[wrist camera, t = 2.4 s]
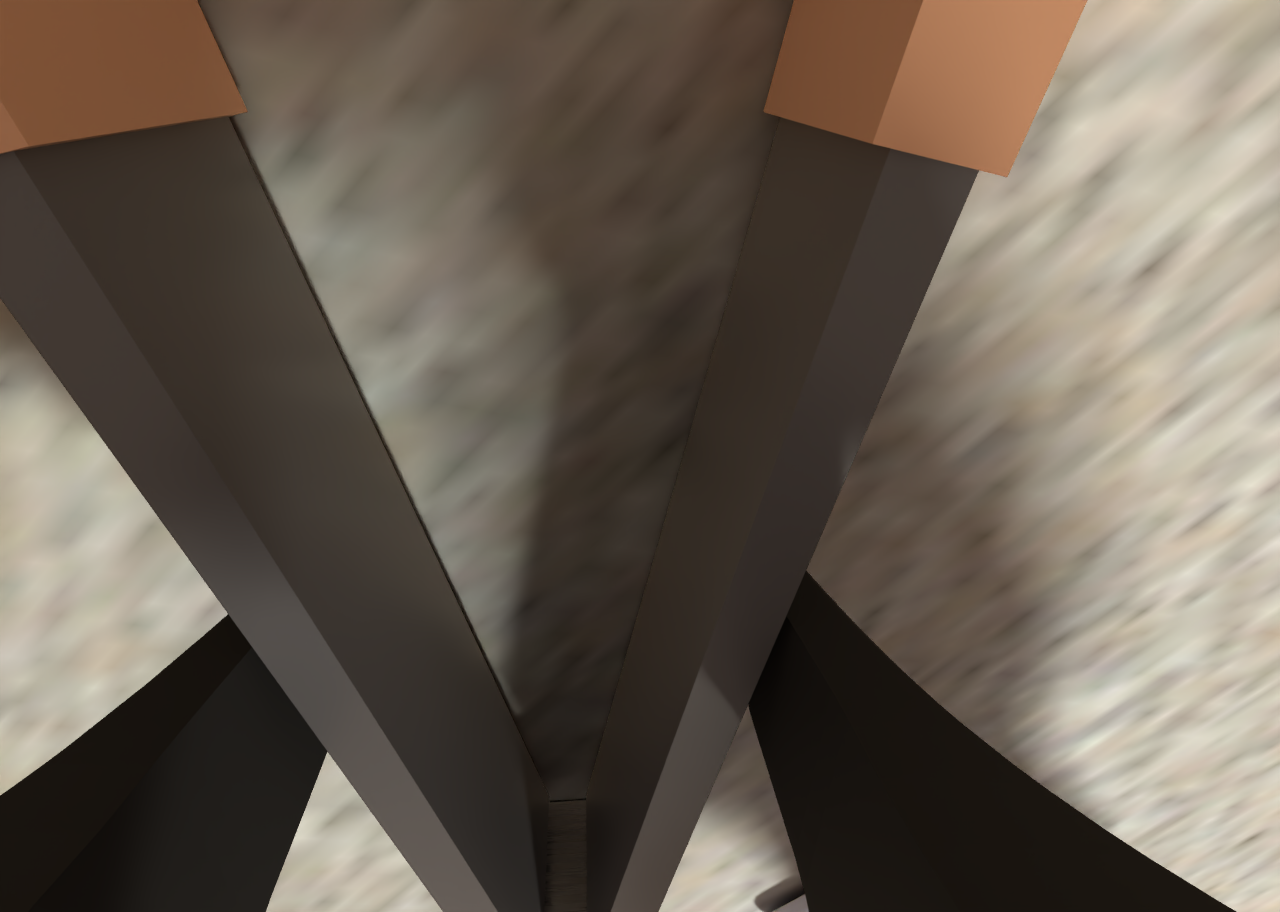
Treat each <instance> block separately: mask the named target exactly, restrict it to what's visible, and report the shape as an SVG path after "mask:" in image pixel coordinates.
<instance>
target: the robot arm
mask: <svg viewBox="0 0 1280 912" xmlns="http://www.w3.org/2000/svg"><path fill="white" fill-rule="evenodd" d="M748 704H749V709H750V713H751V717H752V720H753V724H754V727H755V730H756V733H757V737H758V740H759V743H760V746H761V750H762V753H763V756H764V759H765V763H766V766H767V769H768V772H769V775H770V779H771V782H772V785H773V788H774V791H775V795H776V798H777V801H778V804H779V807H780V811H781V814H782V817H783V820H784V823H785V827H786V830H787V833H788V836H789V839H790V843H791V846H792V849H793V852H794V855H795V859H796V862H797V866H798V870H799V873H800V877H801V881H802V885H803V888H804V892H805V894H804V895H802V896H800V897H798V898H796V899H795V900H793V901H791V902H789V903H787V904H785V905H784V906H782V907H780V908H778V909H776V910H774V911H773V912H1236V911H1234V910H1233V909H1231V908H1229V907H1227V906H1226V905H1224V904H1222V903H1221V902H1219V901H1217V900H1216V899H1214V898H1212V897H1211V896H1209V895H1208V894H1206V893H1204V892H1203V891H1201V890H1200V889H1198V888H1196V887H1195V886H1193V885H1191V884H1190V883H1188V882H1187V881H1185V880H1183V879H1182V878H1180V877H1179V876H1177V875H1175V874H1174V873H1172V872H1170V871H1169V870H1167V869H1166V868H1164V867H1162V866H1161V865H1159V864H1158V863H1156V862H1154V861H1153V860H1151V859H1149V858H1148V857H1146V856H1145V855H1143V854H1142V853H1140V852H1139V851H1137V850H1136V849H1134V848H1133V847H1131V846H1129V845H1128V844H1126V843H1125V842H1123V841H1122V840H1120V839H1119V838H1117V837H1116V836H1114V835H1113V834H1111V833H1110V832H1108V831H1106V830H1105V829H1103V828H1102V827H1101V826H1099V825H1098V824H1096V823H1095V822H1093V821H1092V820H1090V819H1089V818H1088V817H1086V816H1085V815H1083V814H1082V813H1080V812H1079V811H1078V810H1076V809H1075V808H1073V807H1072V806H1070V805H1069V804H1068V803H1066V802H1065V801H1063V800H1062V799H1060V798H1059V797H1058V796H1056V795H1055V794H1053V793H1052V792H1050V791H1049V790H1047V789H1046V788H1045V787H1043V786H1042V785H1040V784H1039V783H1038V782H1036V781H1035V780H1034V779H1032V778H1031V777H1030V776H1028V775H1027V774H1026V773H1024V772H1023V771H1022V770H1020V769H1019V768H1017V767H1016V766H1015V765H1013V764H1012V763H1011V762H1010V761H1008V760H1007V759H1006V758H1005V757H1003V756H1002V755H1001V754H999V753H998V752H997V751H996V750H994V749H993V748H992V747H991V746H989V745H988V744H987V743H986V742H984V741H983V740H982V739H981V738H979V737H978V736H977V735H976V734H974V733H973V732H972V731H970V730H969V729H968V728H967V727H965V726H964V725H963V724H962V723H961V722H959V721H958V720H957V719H956V718H955V717H953V716H952V715H951V714H950V713H949V712H948V711H946V710H945V709H944V708H943V707H942V706H941V705H939V704H938V703H937V702H936V701H935V700H934V699H933V698H932V697H931V696H930V695H928V694H927V693H926V692H925V691H924V690H923V689H922V688H921V687H920V686H919V685H917V684H916V683H915V682H914V681H913V680H912V679H911V678H910V677H909V676H908V675H907V674H906V673H904V672H903V671H902V670H901V669H900V668H899V667H898V666H897V665H896V664H895V663H894V662H893V661H892V660H891V659H890V658H889V657H888V656H887V655H886V654H885V653H884V652H883V651H882V650H881V649H880V648H879V647H878V646H877V645H876V644H875V643H874V642H873V641H872V640H871V639H870V638H869V637H868V636H867V635H866V634H865V633H864V632H863V631H862V630H861V629H860V628H859V627H858V626H857V625H856V624H855V623H854V622H853V621H852V620H851V619H850V618H849V617H848V616H847V615H846V613H845V612H844V611H843V610H842V609H841V608H840V607H839V606H838V605H837V604H836V603H835V602H834V601H833V600H832V598H831V597H830V596H829V595H828V594H827V593H826V592H825V591H824V590H823V589H822V588H821V586H820V585H819V584H818V583H817V582H816V581H815V580H814V579H813V578H812V577H811V575H810V574H809V573H808V572H807V571H806V572H805V574H804V576H803V578H802V581H801V583H800V585H799V588H798V590H797V592H796V595H795V597H794V599H793V602H792V604H791V606H790V609H789V611H788V613H787V615H786V618H785V620H784V622H783V625H782V627H781V629H780V632H779V634H778V636H777V639H776V641H775V643H774V646H773V648H772V650H771V652H770V655H769V657H768V659H767V662H766V664H765V666H764V669H763V671H762V673H761V676H760V678H759V680H758V683H757V685H756V687H755V689H754V692H753V694H752V696H751V699H750V701H749V703H748ZM326 754H327V750H326V749H325V747H324V746H323V744H322V743H321V742H320V740H319V739H318V737H317V736H316V735H315V733H314V732H313V731H312V729H311V728H310V726H309V725H308V724H307V722H306V721H305V719H304V718H303V717H302V715H301V714H300V713H299V711H298V710H297V708H296V707H295V706H294V704H293V703H292V701H291V700H290V699H289V697H288V696H287V695H286V693H285V692H284V690H283V689H282V688H281V686H280V685H279V683H278V682H277V681H276V679H275V678H274V677H273V675H272V674H271V672H270V671H269V670H268V668H267V667H266V665H265V664H264V663H263V661H262V660H261V659H260V657H259V656H258V654H257V653H256V652H255V650H254V649H253V647H252V646H251V645H250V643H249V642H248V640H247V639H246V638H245V636H244V635H243V634H242V632H241V631H240V629H239V628H238V627H237V625H236V624H235V622H234V621H233V620H232V618H231V617H230V616H229V614H228V615H227V616H226V617H224V618H223V619H222V620H221V621H220V622H219V623H218V624H216V625H215V626H214V627H213V628H212V629H211V630H210V631H208V632H207V633H206V634H205V635H204V636H203V637H201V638H200V639H199V640H198V641H197V642H196V643H194V644H193V645H192V646H191V647H190V648H188V649H187V650H186V651H185V652H184V653H183V654H181V655H180V656H179V657H178V658H177V659H176V660H174V661H173V662H172V663H171V664H170V665H168V666H167V667H166V668H165V669H164V670H163V671H161V672H160V673H159V674H158V675H157V676H155V677H154V678H153V679H152V680H151V681H150V682H148V683H147V684H146V685H145V686H144V687H142V688H141V689H140V690H138V691H137V692H136V693H135V694H133V695H132V696H131V697H130V698H128V699H127V700H126V701H125V702H123V703H122V704H121V705H119V706H118V707H117V708H116V709H114V710H113V711H112V712H111V713H109V714H108V715H107V716H106V717H104V718H103V719H102V720H101V721H99V722H98V723H97V724H95V725H94V726H93V727H92V728H90V729H89V730H88V731H87V732H85V733H84V734H83V735H82V736H80V737H79V738H78V739H77V740H75V741H74V742H73V743H71V744H70V745H69V746H68V747H66V748H65V749H64V750H62V751H61V752H60V753H58V754H57V755H56V756H54V757H53V758H52V759H50V760H49V761H48V762H46V763H45V764H44V765H42V766H41V767H40V768H38V769H37V770H35V771H34V772H33V773H31V774H30V775H29V776H27V777H26V778H24V779H23V780H22V781H20V782H19V783H18V784H16V785H15V786H13V787H12V788H10V789H9V790H8V791H6V792H5V793H3V794H2V795H0V912H266V909H267V907H268V904H269V901H270V898H271V895H272V893H273V890H274V888H275V885H276V882H277V880H278V877H279V875H280V872H281V870H282V867H283V865H284V862H285V859H286V857H287V854H288V852H289V849H290V847H291V844H292V842H293V839H294V836H295V834H296V831H297V829H298V826H299V824H300V821H301V818H302V816H303V813H304V811H305V808H306V806H307V803H308V801H309V798H310V795H311V793H312V790H313V788H314V785H315V783H316V780H317V777H318V775H319V772H320V769H321V767H322V764H323V762H324V759H325V756H326Z"/></svg>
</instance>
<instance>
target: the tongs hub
mask: <svg viewBox="0 0 1280 912" xmlns="http://www.w3.org/2000/svg"><path fill="white" fill-rule="evenodd" d="M544 912H587V849H586V800H577V801H562V802H549V813H548V836H547V858H546V881H545V903H544Z"/></svg>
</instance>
